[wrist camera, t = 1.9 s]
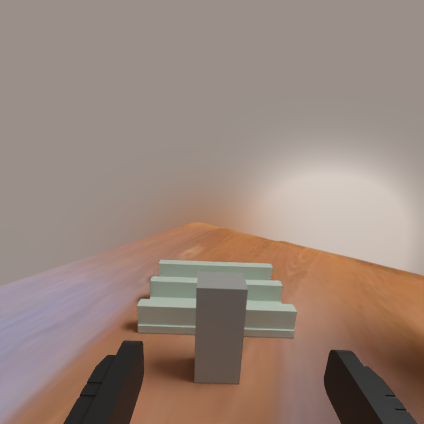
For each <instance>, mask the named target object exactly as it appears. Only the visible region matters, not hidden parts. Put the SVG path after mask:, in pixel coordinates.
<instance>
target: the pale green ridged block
mask: <svg viewBox="0 0 424 424" xmlns="http://www.w3.org/2000/svg"><path fill="white" fill-rule="evenodd" d="M272 269H273V267H272V265H271V264H260V263H233V262H205V261H178V260H161V261H160V262H159V276H152V278H151V280H150V296H151V297H150V299H140V301H139V303H138V305H137V312H138V333H161V334H190V335H195V328H196V287H197V279H198V272H222V273H244V277H245V281H246V285H247V288H248V294H247V305H246V316H245V326H244V336H248V337H277V338H294V332H295V331H294V326H295V320H296V314H297V311H296V309H295V307H294V305H293V304H282V303H281V295H282V288H283V285H282V284H281V282H280V281H271V278H272Z"/></svg>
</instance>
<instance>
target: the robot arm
mask: <svg viewBox="0 0 424 424" xmlns="http://www.w3.org/2000/svg"><path fill="white" fill-rule="evenodd" d="M143 375H144V355H143V342H142V341H126V340H125V341H123V343H122V344H121V346H120V348H119V350H118V352H117V354H116V355H107V356H106V357H105V358H104V359H103V360H102V361H101V362H100V363H99V364H98V365H97V366H96V367H95V369H94V371H93V373H92V374H91V376H90V378H89V380H88V381H87V385H85V387H84V388H83V390H82V392H81V394H80V397H79V398H78V399H77V401H76V403H75V404H74V406H73V408H72V410H71V411H70V413H69V415H68V417H67V418H66V420H65V422H64V424H129V423H130V420H131V417H132V414H133V411H134V408H135V405H136V401H137V398H138V395H139V392H140V389H141V385H142V381H143ZM324 385H325V389H326V393H327V395H328V397H329V399H330V402H331V404H332V406H333V408H334V410H335V412H336V414H337V416H338V418H339V420H340V422H341V424H417V423H416V421H415V420H414V419H413V418H412V416H411V415H410V414H409V413H407V411H406V409H405V407H404V406H403V405H402V403H401V402H400V401H399V400H398V399H397V398H396V397H395V394H394V393H393V392H392V391H391V389H390V388H389V387H388V385H387V384H386V383H385V382H384V380H383V379H382V378H381V377H379V376H378V375H377V374H376V373H375V372H374V371H372V370H371V369H370V368H369V367H367V366H363V365H362V363H361V362H360V361H359V359H358V358H357V357H356V355H355V354H354V353H353V352H352V351H347V350H331V351H330V353H329V357H328V362H327V366H326V371H325V375H324Z"/></svg>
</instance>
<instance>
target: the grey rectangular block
mask: <svg viewBox="0 0 424 424" xmlns="http://www.w3.org/2000/svg"><path fill="white" fill-rule="evenodd" d="M247 294H248V288H247V285H246V281H245V277H244V273H222V272H198V279H197V287H196V328H195V372H194V383H218V384H239V381H240V370H241V359H242V348H243V337H244V326H245V316H246V305H247Z"/></svg>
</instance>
